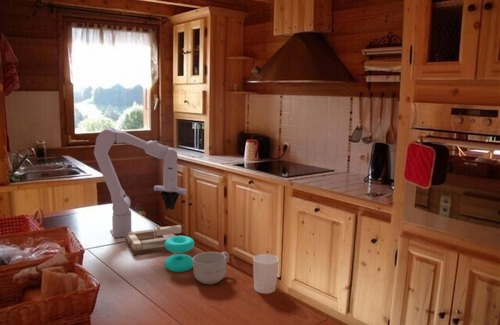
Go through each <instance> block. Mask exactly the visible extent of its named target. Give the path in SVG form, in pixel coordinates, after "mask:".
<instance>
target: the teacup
mask: <svg viewBox="0 0 500 325" xmlns="http://www.w3.org/2000/svg"><path fill="white" fill-rule="evenodd" d="M192 258H193V259H192V260H193V267H192V268H193V275H194V278H195V280H197V281H198V282H200V283H202V284H204V285H214V284H217V283H219V282H221V281H222V280H223V278H224V277H225V275H226V273H227V263H228V261H229V259H230V256H229V253H228V252H227V251H222V252H219V251H204V252H200V253H197V254H195V255H194V256H192Z"/></svg>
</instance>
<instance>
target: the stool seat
mask: <svg viewBox="0 0 500 325" xmlns="http://www.w3.org/2000/svg"><path fill="white" fill-rule="evenodd" d="M168 238H170V237H169V236H165V237H164V235H161V236H155V234H154V228H152V229H145V230H143V229H142V230H135V231H132V232H127V233H126V238H125V244H126V246H127V247H128V249H129V251H130V253H131V254H132V255H133V257H140V256H145V255H153V254H160V253H164V252H170V251H169V250H167V249H166V247H165V241H166V240H167V239H168Z"/></svg>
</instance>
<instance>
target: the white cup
mask: <svg viewBox="0 0 500 325" xmlns="http://www.w3.org/2000/svg"><path fill="white" fill-rule="evenodd" d="M252 262H253V290H254V291H255V292H256V293H259V294H265V295H266V294H267V295H268V294H273V293H274V292H275V291H276V287H277V280H278V272H279V265H280V264H279V262H280V259H279V257H278V256H276V255H274V254H271V253H261V254H256V255H254V256H253V261H252Z"/></svg>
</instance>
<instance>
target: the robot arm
mask: <svg viewBox="0 0 500 325" xmlns="http://www.w3.org/2000/svg"><path fill="white" fill-rule="evenodd" d="M115 142H116V144H123V143H126V144H129V145H131V146H135V147H137V148H140V149H143V150H144V153H145V154H147V155H149V156H152V157H154V158H157V159H158V160H163V165H162V166H163V167H162V171H163V172H162V184H163V185H158V184H157V185H154V186H153V191H155V192H156V191H159V192H160V196H161V198H162V200H163V203H164V206H165V209H166V210H169V209H170V211H172V210H175V206H176V204H177V201H178V198H179V196H180V195H184V196H185V195H187V194H188V189H187V188H183V187H179V186H178V158H179V157H178V151H177V150H176V149H175V148H173V147H172V146H169V145H167V144H166V145H163V144H162V143H160V142H158V140H148V141H145V140H143V139H141V138H139V137H137V136H135V135H133V134H130V133H128V132H126V131H123V130H120V129H115V128H114V127H112V126H111V127H105V129H103V130H102V131H100V132H99V134H98V135H97V136H96V139H95V145H94V150H93V155H94V158H95V160H96V162H97V166H98V167H99V170H100V172H101V174H102V177H103V179H104V182H105V184H106V186H107V189H108V191H109V193H110V199H111V202H112V217H111V218H112V229H109V230H110V233H111V236H113V238H114V239H118V238H124V237H126V233H127V232H133V230H132V211H131V209H130V206H131V204H132V200H131V198H130V196H128V195H127V194H126V192H125V190H124V189H123V188H122V185H121V183H120V180H119V177H118V176H117V175H118V174H117V173H116V169H115V168H114V165H113V163H112V161H111V158H110V156H109V151H110V149H111V147H112V146H113V145H114V144H115Z"/></svg>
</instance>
